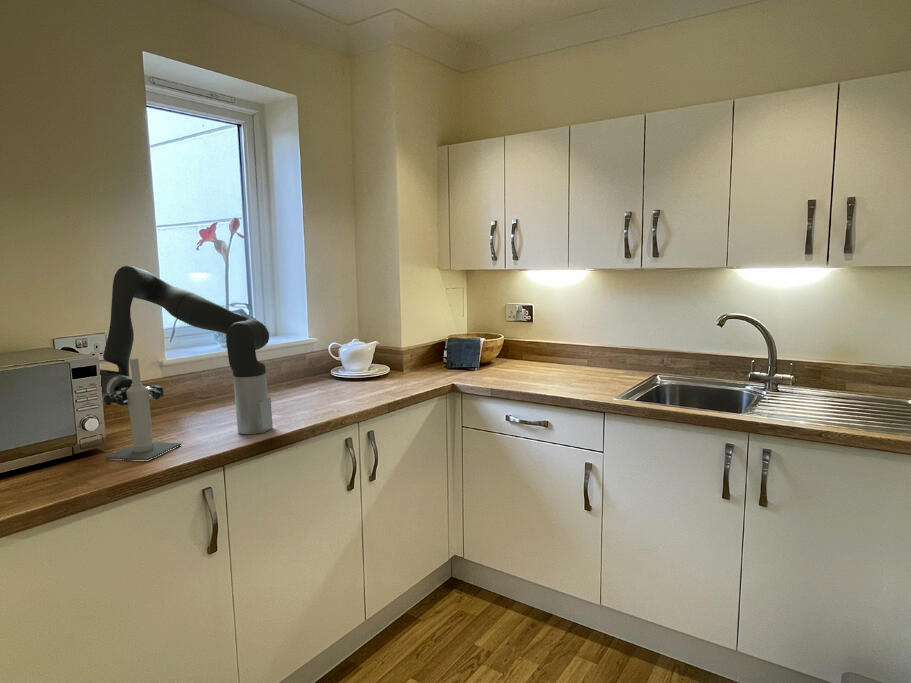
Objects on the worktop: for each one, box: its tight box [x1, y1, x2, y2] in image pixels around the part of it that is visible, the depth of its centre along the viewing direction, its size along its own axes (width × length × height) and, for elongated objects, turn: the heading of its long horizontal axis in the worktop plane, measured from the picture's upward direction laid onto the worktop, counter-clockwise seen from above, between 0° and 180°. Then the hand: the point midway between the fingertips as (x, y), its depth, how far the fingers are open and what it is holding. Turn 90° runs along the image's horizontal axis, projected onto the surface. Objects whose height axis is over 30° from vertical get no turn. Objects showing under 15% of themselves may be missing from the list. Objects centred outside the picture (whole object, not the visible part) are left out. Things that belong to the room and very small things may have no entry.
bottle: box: [126, 357, 155, 452], centre depth 154 cm, size 5×5×25 cm
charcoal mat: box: [104, 441, 182, 460], centre depth 156 cm, size 13×13×1 cm
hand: (140, 398), depth 153 cm, fingers open, 8 cm apart
